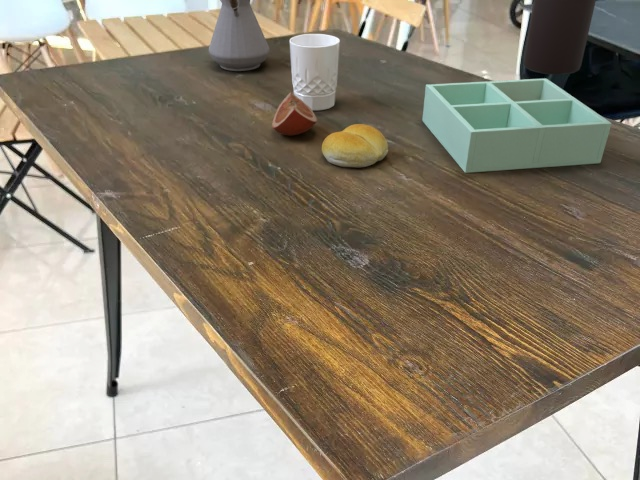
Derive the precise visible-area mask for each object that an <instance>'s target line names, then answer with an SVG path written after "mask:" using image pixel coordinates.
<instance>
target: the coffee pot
mask: <svg viewBox="0 0 640 480" xmlns="http://www.w3.org/2000/svg"><path fill="white" fill-rule="evenodd" d="M219 1H220V2H221V6H220V10H219V14H218V17H217V20H216V24H215V26H214V30H213V33H212V36H211V39H210V43H209V47H208V54H209V56H210V57H211V60H213V61H214V62H215V64H218V65H219V67H220V68H221V69H223V70H227V71H234V72H242V71H243V72H245V71H251V70H255V69H258V68H259V67H260V66H261V64H262V63H263V62H265V61H266V59H268V56H269V53H270V50H271V48H270V46H269V44H268V41H267V39H266V37H265V35H264V32H263V30H262V28H261V26H260V23H259V22H258V19H257V17H256V14H255V12H254V10H253V7H252V5H251V0H219Z"/></svg>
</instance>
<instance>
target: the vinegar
mask: <svg viewBox="0 0 640 480" xmlns="http://www.w3.org/2000/svg"><path fill="white" fill-rule="evenodd" d="M596 2H597V0H533V2H532V7H531V8H532V9H531V13H530V20H529V26H528V31H527V37H526V44H525V46H524V47H525V48H524V54H523V59H522V64H523V66H524V68H526V69H527V70H529V71H531V72H534V73H539V74H544V75H555V76H556V75H557V76H560V75H570V74H574V73H576V72H578V71H580V69H581V67H582V63H583V58H584V54H585V50H586V47H587V41H588V37H589V32H590V28H591V25H592V19H593V15H594V10H595V6H596Z"/></svg>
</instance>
